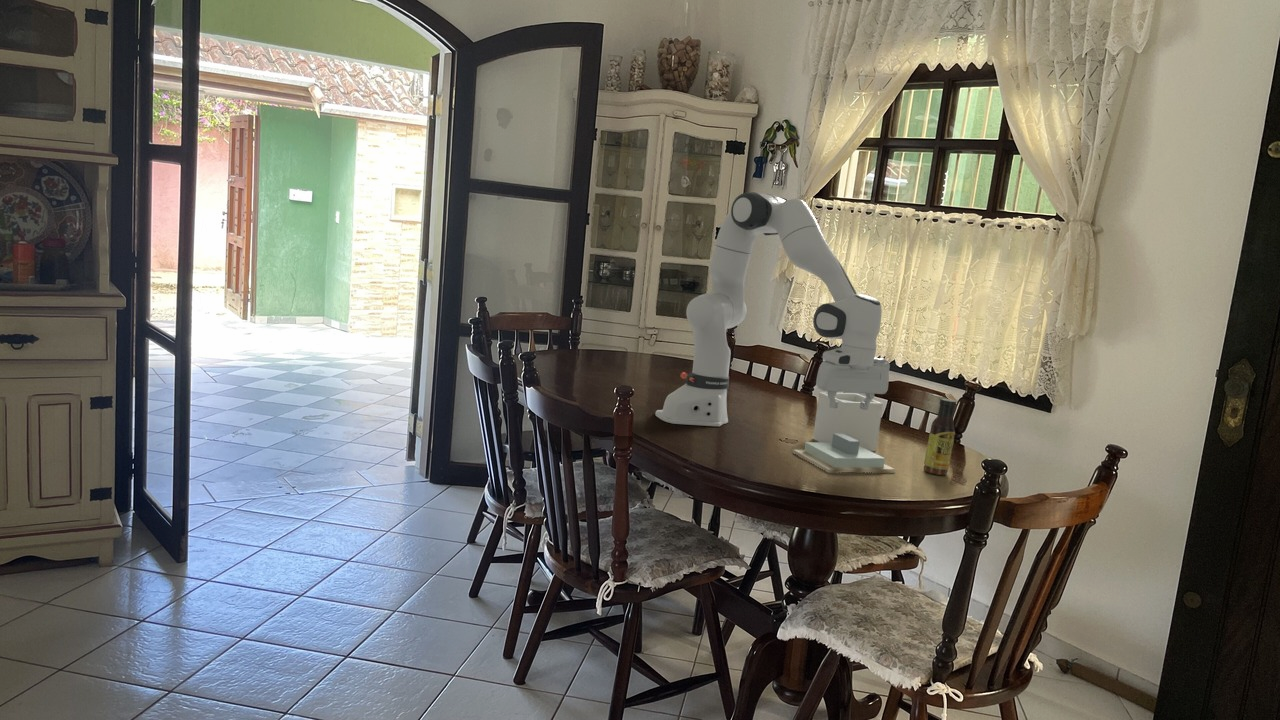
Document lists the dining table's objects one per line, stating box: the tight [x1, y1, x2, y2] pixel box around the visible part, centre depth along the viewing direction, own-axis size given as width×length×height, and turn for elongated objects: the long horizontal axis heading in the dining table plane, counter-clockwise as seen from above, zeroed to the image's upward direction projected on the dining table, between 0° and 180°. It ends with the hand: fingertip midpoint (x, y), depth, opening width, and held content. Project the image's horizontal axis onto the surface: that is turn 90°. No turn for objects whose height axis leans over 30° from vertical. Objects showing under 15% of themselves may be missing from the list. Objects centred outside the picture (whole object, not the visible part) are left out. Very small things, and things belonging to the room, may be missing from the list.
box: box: [812, 391, 884, 452], centre depth 246 cm, size 13×13×14 cm
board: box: [792, 449, 896, 474], centre depth 226 cm, size 20×18×1 cm
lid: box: [803, 433, 886, 468], centre depth 225 cm, size 15×15×6 cm
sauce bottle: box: [923, 398, 957, 476], centre depth 224 cm, size 6×6×20 cm
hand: (848, 408), depth 224 cm, fingers open, 8 cm apart
